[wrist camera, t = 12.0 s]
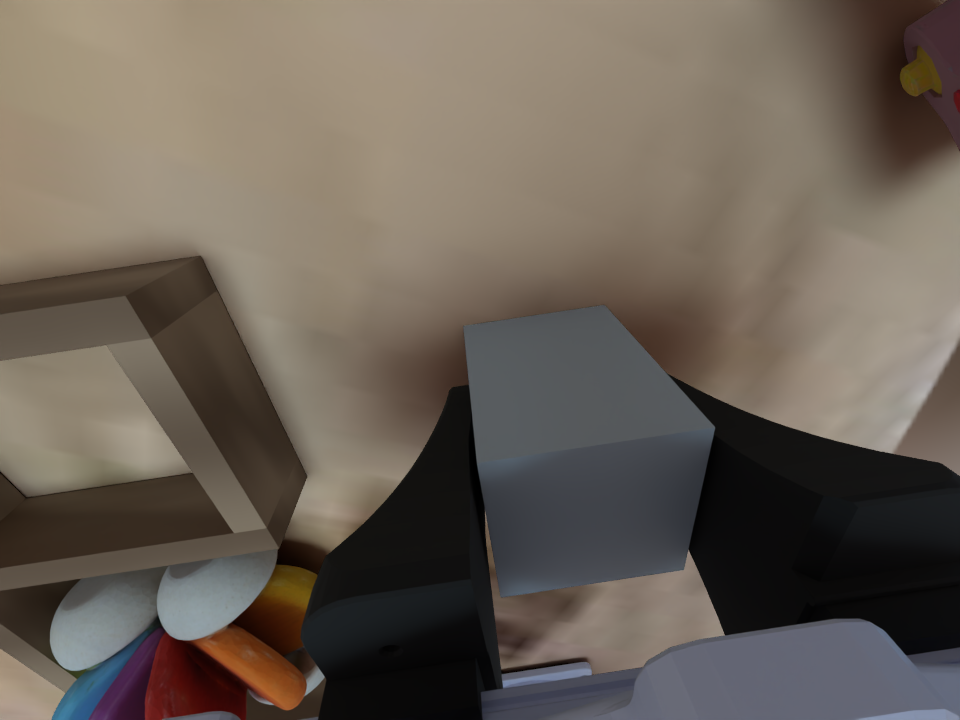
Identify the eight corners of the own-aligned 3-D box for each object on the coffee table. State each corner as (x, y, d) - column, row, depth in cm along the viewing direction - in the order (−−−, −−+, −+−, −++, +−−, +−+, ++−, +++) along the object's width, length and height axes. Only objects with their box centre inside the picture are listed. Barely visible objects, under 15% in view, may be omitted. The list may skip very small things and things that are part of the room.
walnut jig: (393, 655, 22) (386, 725, 20) (196, 685, 22) (163, 759, 20) (200, 255, 11) (125, 295, 8) (-204, 315, 11) (-405, 374, 8)
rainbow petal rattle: (375, 602, 20) (345, 820, 14) (200, 647, 21) (95, 873, 14) (284, 490, 16) (178, 731, 9) (68, 552, 17) (-161, 813, 10)
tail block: (600, 416, 15) (683, 569, 10) (480, 434, 15) (500, 597, 10) (604, 305, 13) (715, 427, 8) (463, 325, 13) (476, 463, 8)
